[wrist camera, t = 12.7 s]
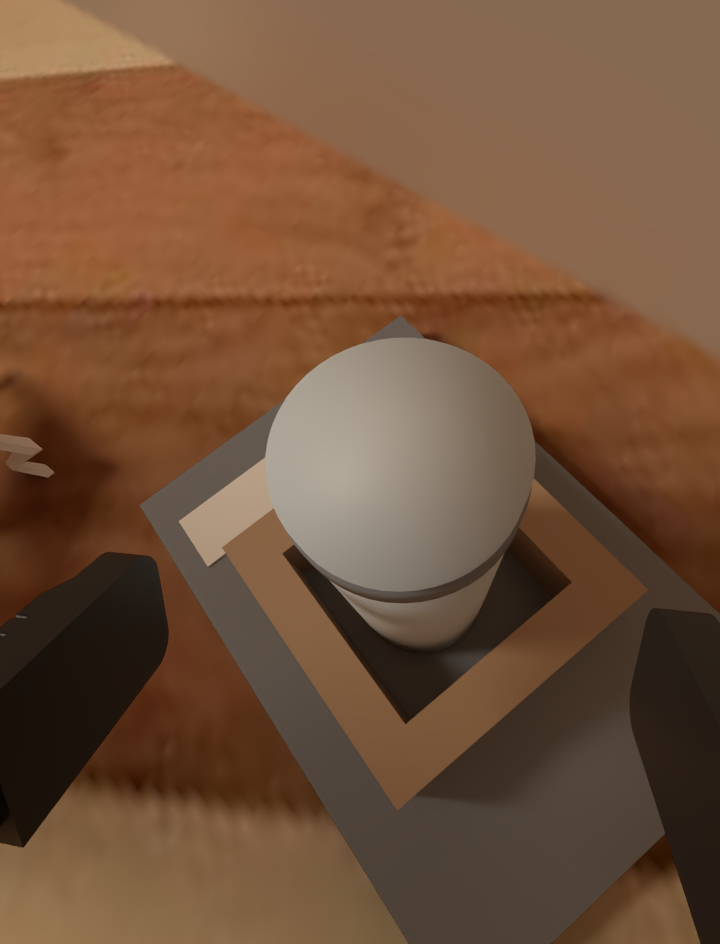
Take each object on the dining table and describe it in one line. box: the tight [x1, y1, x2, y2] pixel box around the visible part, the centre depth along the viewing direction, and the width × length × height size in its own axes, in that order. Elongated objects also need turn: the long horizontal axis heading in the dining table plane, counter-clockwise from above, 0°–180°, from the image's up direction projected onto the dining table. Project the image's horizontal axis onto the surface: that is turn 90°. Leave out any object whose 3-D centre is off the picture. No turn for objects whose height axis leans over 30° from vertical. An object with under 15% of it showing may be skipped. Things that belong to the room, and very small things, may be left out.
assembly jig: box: [140, 316, 720, 944], centre depth 19 cm, size 20×14×4 cm
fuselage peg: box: [265, 338, 536, 653], centre depth 14 cm, size 4×4×12 cm
